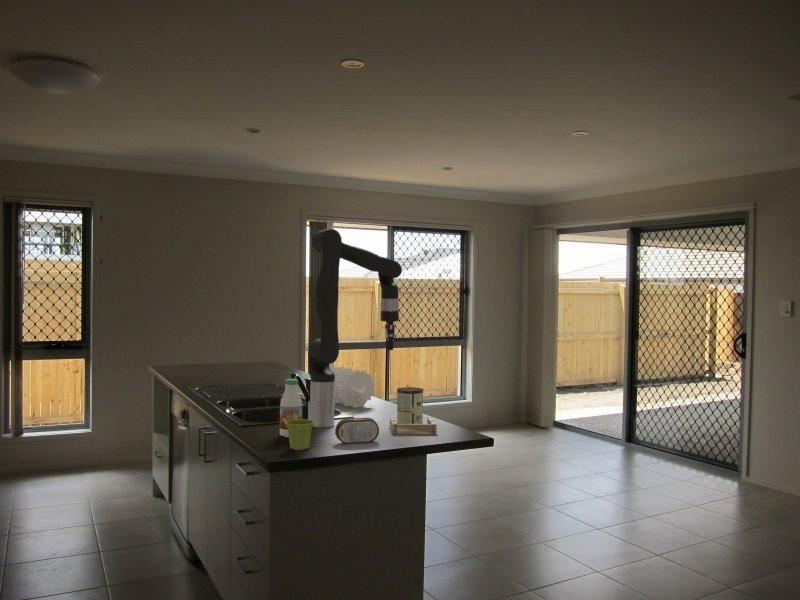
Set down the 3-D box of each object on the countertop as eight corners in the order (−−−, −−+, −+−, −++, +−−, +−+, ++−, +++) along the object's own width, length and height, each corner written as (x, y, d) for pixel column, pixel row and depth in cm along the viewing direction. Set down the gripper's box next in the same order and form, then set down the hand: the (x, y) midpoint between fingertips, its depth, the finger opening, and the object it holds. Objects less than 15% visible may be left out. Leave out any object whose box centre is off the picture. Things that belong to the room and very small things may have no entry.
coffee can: (401, 421, 260) (401, 386, 260) (425, 423, 257) (426, 388, 257) (392, 426, 251) (393, 389, 251) (418, 428, 247) (418, 391, 247)
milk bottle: (277, 434, 233) (278, 378, 233) (298, 432, 236) (299, 377, 236) (282, 438, 226) (283, 381, 226) (304, 437, 229) (305, 380, 229)
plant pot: (284, 452, 206) (285, 424, 206) (284, 445, 215) (285, 419, 215) (314, 451, 207) (314, 424, 207) (313, 444, 217) (313, 418, 217)
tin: (377, 440, 225) (377, 416, 225) (379, 442, 222) (380, 418, 222) (334, 443, 220) (335, 418, 220) (336, 445, 217) (337, 420, 217)
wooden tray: (389, 426, 249) (389, 417, 249) (431, 426, 251) (431, 417, 251) (392, 434, 236) (392, 424, 236) (436, 434, 237) (436, 424, 237)
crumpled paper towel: (339, 409, 310) (369, 414, 290) (310, 396, 300) (339, 400, 281) (352, 373, 315) (383, 376, 296) (324, 359, 306) (354, 361, 286)
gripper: (379, 309, 274) (379, 347, 274) (381, 310, 260) (381, 350, 260) (397, 309, 275) (396, 347, 275) (400, 310, 260) (400, 350, 261)
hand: (389, 349), depth 267 cm, fingers open, 8 cm apart
